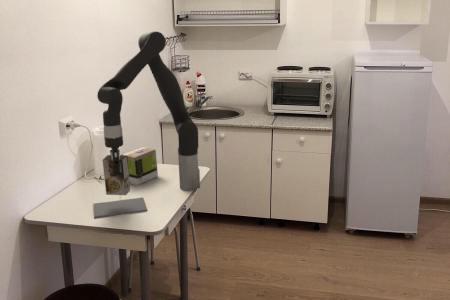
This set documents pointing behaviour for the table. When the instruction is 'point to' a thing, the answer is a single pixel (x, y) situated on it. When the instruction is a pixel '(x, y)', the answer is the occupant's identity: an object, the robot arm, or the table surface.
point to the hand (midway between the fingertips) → (116, 171)
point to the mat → (119, 207)
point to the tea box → (141, 165)
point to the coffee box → (116, 176)
